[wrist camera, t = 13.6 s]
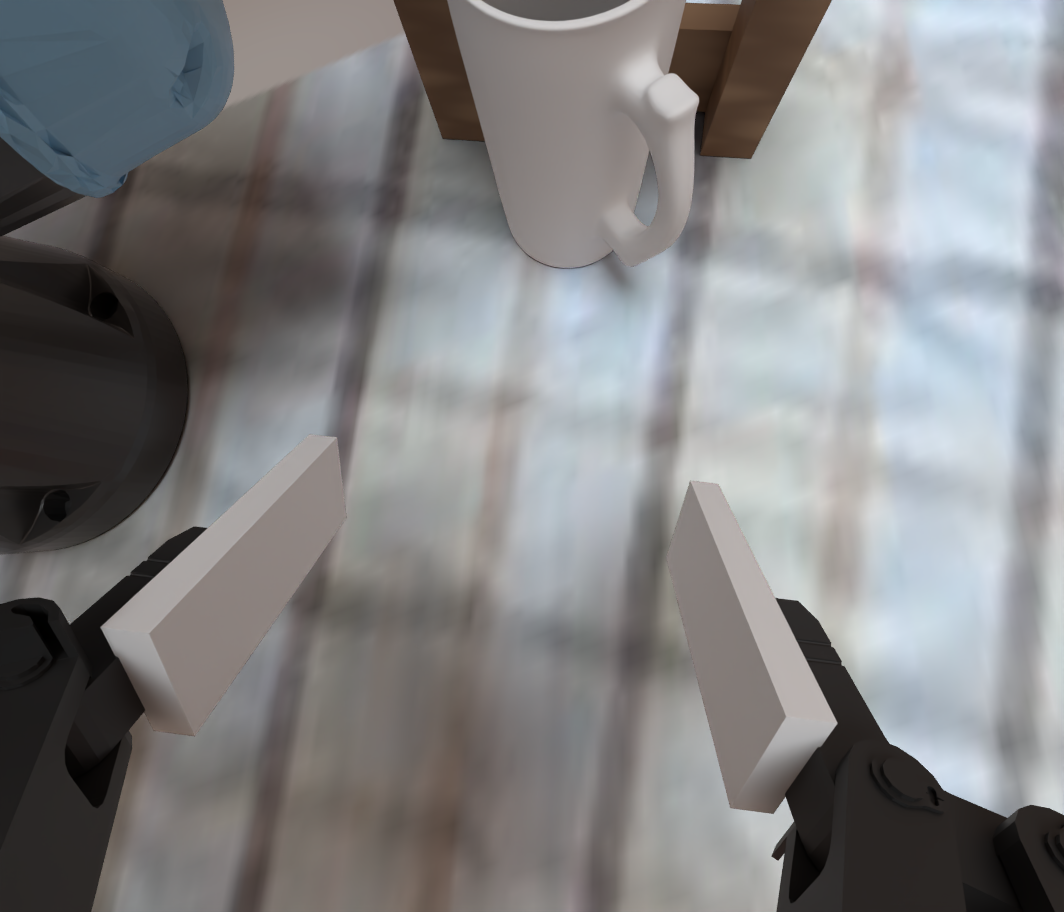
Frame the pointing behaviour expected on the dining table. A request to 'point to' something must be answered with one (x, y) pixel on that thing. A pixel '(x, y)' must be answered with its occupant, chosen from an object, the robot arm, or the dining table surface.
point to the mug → (581, 121)
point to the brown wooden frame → (698, 59)
